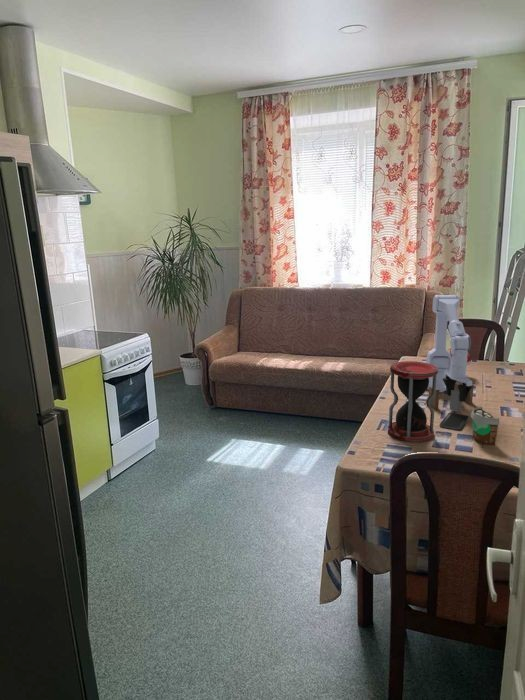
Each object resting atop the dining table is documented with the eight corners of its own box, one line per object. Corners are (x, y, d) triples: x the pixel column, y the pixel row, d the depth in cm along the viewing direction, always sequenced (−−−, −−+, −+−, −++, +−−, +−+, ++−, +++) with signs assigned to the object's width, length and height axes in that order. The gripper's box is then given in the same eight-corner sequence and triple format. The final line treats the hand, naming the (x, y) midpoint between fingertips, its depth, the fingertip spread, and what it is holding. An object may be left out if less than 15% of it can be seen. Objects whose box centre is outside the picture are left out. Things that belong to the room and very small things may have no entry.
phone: (438, 424, 191) (449, 412, 203) (438, 427, 191) (448, 414, 203) (461, 429, 186) (470, 415, 199) (460, 432, 187) (469, 418, 199)
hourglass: (390, 422, 196) (393, 359, 190) (435, 427, 190) (439, 362, 184) (384, 438, 182) (387, 371, 175) (432, 445, 176) (436, 375, 170)
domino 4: (468, 403, 214) (470, 385, 212) (461, 399, 218) (462, 382, 216) (472, 403, 214) (473, 384, 212) (464, 399, 219) (465, 381, 217)
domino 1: (434, 408, 209) (436, 389, 207) (427, 404, 213) (429, 386, 212) (438, 408, 209) (439, 389, 208) (431, 404, 214) (432, 386, 212)
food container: (462, 433, 185) (464, 407, 182) (479, 432, 185) (481, 406, 183) (479, 447, 173) (482, 420, 170) (497, 446, 173) (499, 419, 171)
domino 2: (457, 405, 212) (459, 386, 210) (450, 401, 217) (451, 383, 215) (461, 404, 213) (462, 386, 211) (453, 401, 217) (454, 383, 215)
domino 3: (457, 412, 204) (458, 393, 202) (449, 408, 209) (451, 390, 207) (460, 412, 205) (462, 393, 203) (453, 408, 209) (454, 389, 207)
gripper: (479, 369, 196) (477, 402, 200) (455, 360, 210) (453, 391, 213) (464, 371, 194) (461, 404, 198) (440, 361, 208) (438, 393, 211)
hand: (456, 398), depth 205 cm, fingers open, 7 cm apart
